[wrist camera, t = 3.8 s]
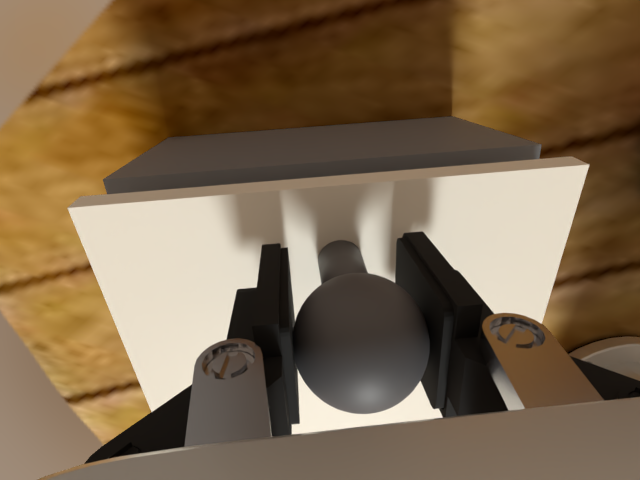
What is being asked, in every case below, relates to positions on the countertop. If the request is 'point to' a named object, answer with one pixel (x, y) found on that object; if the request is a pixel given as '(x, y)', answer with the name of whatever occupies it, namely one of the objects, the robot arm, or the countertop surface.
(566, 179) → the flap
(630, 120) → the countertop surface
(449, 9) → the countertop surface
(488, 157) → the grey storage box
